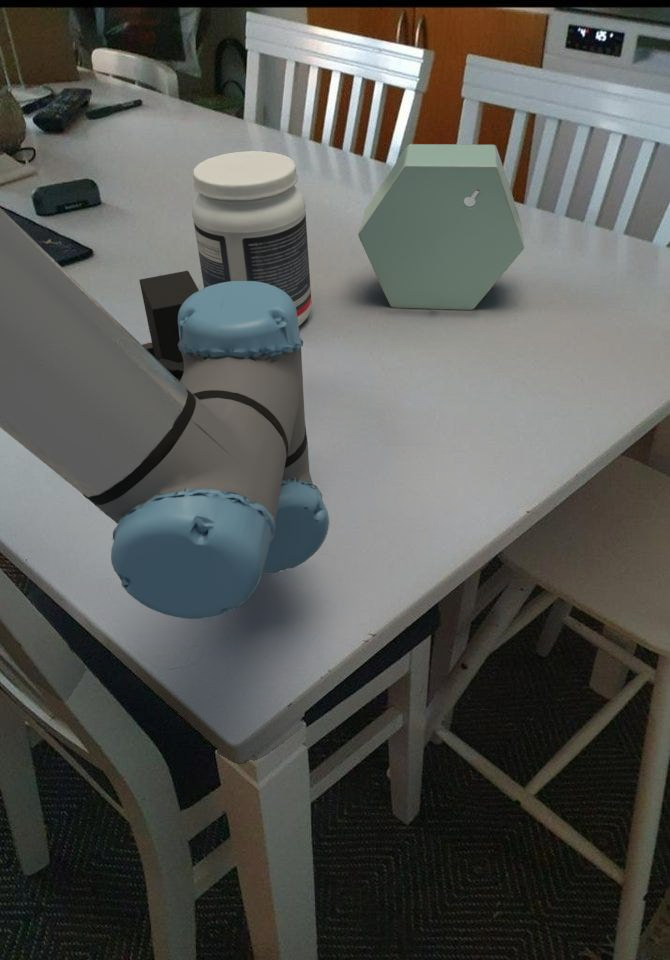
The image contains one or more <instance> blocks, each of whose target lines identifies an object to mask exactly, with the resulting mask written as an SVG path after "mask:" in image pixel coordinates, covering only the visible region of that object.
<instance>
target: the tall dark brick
mask: <svg viewBox="0 0 670 960" xmlns="http://www.w3.org/2000/svg"><path fill="white" fill-rule="evenodd" d="M138 282H139V285H140V291H141V295H142V301H143V306H144V311H145V315H146V321H147V325H148V331H149V335H150V339H151V340H150V341H151V343H152V346H153V351H154V355H155V358H156V359H157V360H158V361H159V360H160V359H166V360H170V361H173V362H177V363H180V362H184V361H183V357H182V353H181V351H180V350H179V348H178V343H179V341H180V337H179V326H178V313H179V310H180V308H181V306H182V304H183V303H184V302H185V300H186V299H187V298H188V297H190V296H191V295H192V294H194V293H196V292H197V291H199V290H200V289H199V288H198V286H197V284H196V282H195V280H194V279H193V277H192V275H191V273H190V272H189V270H183V271H177V272H172V273H168V274H162V275H157V276H151V277H145V278H140V279H139V281H138Z"/></svg>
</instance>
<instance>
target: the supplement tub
mask: <svg viewBox="0 0 670 960" xmlns="http://www.w3.org/2000/svg"><path fill="white" fill-rule="evenodd" d="M192 176H193V177H192V178H193V189H194V191H195V192H196V193H198V194H197V195H196V197H195V199H194V201H193V204H192V208H191V209H192V210H191V211H192V213H191V217H192V221H193V227H194V233H195V239H196V245H197V253H198V258H199V259H198V260H199V264H200V272H201V278H202V284H203V285H202V286H203V288H206V287H208V286H211V285H215V284H218V283H223V282H230V281H256V282H262V283H266V284H269V285H272V286H275V287H277V288H279V289H281V290H283V291H284V292H285V293H287V294H288V295H289V296H290V297H291V299H292V300H293V302H294V304H295V306H296V310H297V318H298V326H301V325H302V324H303V323H304V322H305V321H306V320H307V318H308V317H309V316H310V313H311V310H312V305H313V302H312V290H311V273H310V260H309V245H308V243H309V242H308V229H307V228H308V227H307V214H306V209H307V206H306V202H305V198H304V196H303V194H302V192H301V190H300V189H299V188H298V187H297V186H296V184H297V183H298V180H299V176H298V174H297V166H296V162H295V161H294V159H292V158H291V157H289V156H287V155H285V154H281V153H277V152H273V151H272V152H271V151H265V150H264V151H263V150H247V151H246V150H245V151H235V152H229V153H224V154H219V155H216V156H215V155H214V156H213V157H209V158H207V159H205V160H203V161H201V162H199V163H198V164H197V165H196V166H195V167H194V168H193V171H192Z"/></svg>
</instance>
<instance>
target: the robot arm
mask: <svg viewBox="0 0 670 960" xmlns="http://www.w3.org/2000/svg"><path fill="white" fill-rule="evenodd" d="M178 326H179V337H180V341H179V343H178V348H179V350H180V351H181V353H182V357H183V361H184V362H180V363H177V362H173V361H170V360H166V359H160V360H159V361H158V360H157V359H156V358H155V357H154V356H153V355H152V354H151V353H150V352H148V351H147V350H146V349H145V348H144V347H143V346H142V344H141V342H140V341H138V340H137V339H136V338H135V337H134V336H133V334H132V333H130V332H129V331H128V330H127V329H126V328H125V327H124V326H123V325H122V324H121V323H120V322H119V321H118V320H117V319H115V318H114V316H113V315H112V314H110V312H108V311H107V310H106V309H105V307H104V306H102V305H101V304H100V303H99V302H98V301H97V300H96V299H95V298H94V297H93V296H92V295H91V294H90V293H89V292H88V291H87V289H85V288H84V287H82V285H81V284H80V283H78V282H77V280H75V279H74V278H73V276H71V275H70V273H68V272H67V271H66V270H65V269H64V268H63V267H62V266H61V264H59V262H57V261H56V260H55V259H54V258H53V257H52V256H51V255H50V254H49V253H48V252H46V250H45V249H43V248H42V247H41V245H39V244H38V243H37V242H36V241H35V240H34V239H33V238H32V237H31V236H30V235H29V234H28V232H26V231H25V230H24V229H23V228H22V226H21V227H20V225H19V224H17V222H16V221H15V220H14V219H12V217H11V216H9V215H8V214H7V213H6V211H4V209H2V208H1V207H0V429H1V430H3V431H4V432H5V433H6V434H8V435H9V436H10V437H11V438H12V439H13V440H15V441H16V442H17V443H19V444H20V445H21V446H22V447H23V448H25V449H26V450H27V451H28V452H30V453H31V454H32V455H34V457H36V458H37V459H38V460H40V461H41V462H42V463H43V464H44V465H46V466H47V467H48V468H50V469H51V470H53V472H55V473H56V474H57V475H58V476H60V478H62V479H63V480H65V481H66V482H67V483H68V484H70V486H72V487H73V488H75V489H76V490H77V491H79V492H80V493H81V494H82V495H83V496H84V498H85V499H87V500H88V501H90V502H91V503H92V504H93V505H94V506H95V507H96V508H98V509H99V510H100V511H101V512H102V513H103V514H105V515H106V516H107V517H108V518H109V519H111V520H112V521H113V522H114V523H116V524H117V525H116V526H115V527H114V529H113V532H112V539H113V542H112V546H111V553H110V554H111V556H110V561H111V565H112V568H113V570H114V572H115V573H116V575H117V576H118V578H119V580H120V581H121V586H122V588H123V589H124V590H125V592H126V593H128V594H129V595H130V596H131V597H132V598H133V599H134V600H135V601H137V602H138V603H140V604H141V605H143V606H144V607H146V608H149V609H151V610H152V611H155V612H158V613H161V614H163V615H166V616H171V617H174V618H180V619H190V620H192V619H193V620H196V619H200V620H201V619H209V618H214V617H218V616H220V615H224V614H226V613H228V612H230V611H234V609H238V607H240V606H241V605H243V604H244V603H245V602H246V601H247V600H248V599H249V598H250V597H251V596H252V595H253V593H255V591H256V588H257V587H258V585H259V583H260V580H261V578H262V577H261V576H262V575H264V574H266V575H267V574H278V573H280V572H282V571H286V570H290V569H295V568H296V567H298V566H300V565H302V564H303V563H305V562H307V561H308V560H309V559H311V558H312V557H313V556H314V555H315V554H316V553H317V552H318V551H319V549H320V548H321V547H322V545H323V543H324V541H325V540H326V538H327V535H328V533H329V528H330V515H329V512H328V509H327V507H326V505H325V502H324V500H323V492H322V491H321V490H320V489H319V486H318V485H316V484H315V483H314V482H313V480H312V475H311V472H310V458H309V443H308V435H307V428H306V418H305V417H306V415H305V414H306V413H305V397H304V379H303V361H302V360H303V359H302V357H303V356H302V347H303V346H304V340H303V339H302V338H301V335H300V327H299V326H300V325H299V326H298V318H297V310H296V306H295V304H294V302H293V300H292V299H291V297H290V296H289V295H288V294H287V293H285V292H284V291H283V290H281V289H279V288H277V287H275V286H272V285H269V284H266V283H262V282H256V281H230V282H223V283H218V284H215V285H211V286H208V287H206V288H204V287H203V288H200V289H199V291H197V292H196V293H194V294H192V295H191V296H190V297H188V298H187V299H186V300H185V302H184V303H183V304H182V306H181V308H180V310H179V313H178Z"/></svg>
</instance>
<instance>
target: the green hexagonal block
mask: <svg viewBox="0 0 670 960" xmlns="http://www.w3.org/2000/svg"><path fill="white" fill-rule="evenodd" d="M477 191H478V193H477V194H476V195H475V196H474V201H475V203H474V204H473V205H471V206H469V205H467V204H466V203H465V199H466V198H472V197H473V195H474V194H475V193H476V192H477ZM520 217H521V216H520V214H519V211H518V207H517V205H516V202H515V199H514V196H513V192H512V190H511V187H510V183H509V181H508V177H507V174H506V172H505V168H504V166H503V162H502V159H501V156H500V152H499V150H498V147H497V145H496V144H476V143H475V144H471V143H470V144H467V143H465V144H461V143H454V144H453V143H452V144H451V143H450V144H449V143H448V144H447V143H446V144H445V143H442V144H441V143H440V144H439V143H438V144H437V143H434V144H433V143H431V144H429V143H409V144H407V146H406V147H405V149H404V150H403V152H402V153H401V154H400V156H399V158H398V159H397V161H396V163H395V164H394V165H393V167H392V168H391V170H390V172H389V173H388V174H387V176H386V177H385V179H384V180H383V182H382V183H381V185H380V187H379V188H378V190H376V192H375V194H374V195H373V197H372V199H371V200H370V201H369V203H368V204H367V205H366V208H365V209H364V212H363V215H362V219H361V223H360V225H359V230H358V233H357V234H358V235H357V236H358V238H359V241H360V243H361V246H362V247H363V250H364V251H365V254H366V256H367V258H368V261H369V262H370V265H371V267H372V269H373V271H374V274H375V276H376V278H377V280H378V282H379V285H380V288H381V289H382V291H383V293H384V295H385V298H386V300H387V302H388V305H389V306H390V307H391V308H394V309H395V308H399V309H426V310H427V309H428V310H430V309H431V310H460V311H464V310H465V311H466V310H467V311H473V310H474V309H475V308H477V306H478V305H479V303H480V302H482V300H483V298H484V297H486V295H487V294H488V293H489V292H490V290H491V289H492V288H493V287H494V286H495V284H496V283H497V282H498V281H499V279H500V278H501V277H502V276H503V275H504V274H505V272H506V271H507V270H508V269H509V267H510V266H511V265H512V264H513V263H514V262H515V261H516V259H517V258H518V257H519V256H520V255H521V253H522V252H523V251H524V249H525V243H524V234H523V233H524V232H523V225H522V220H521V218H520Z"/></svg>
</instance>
